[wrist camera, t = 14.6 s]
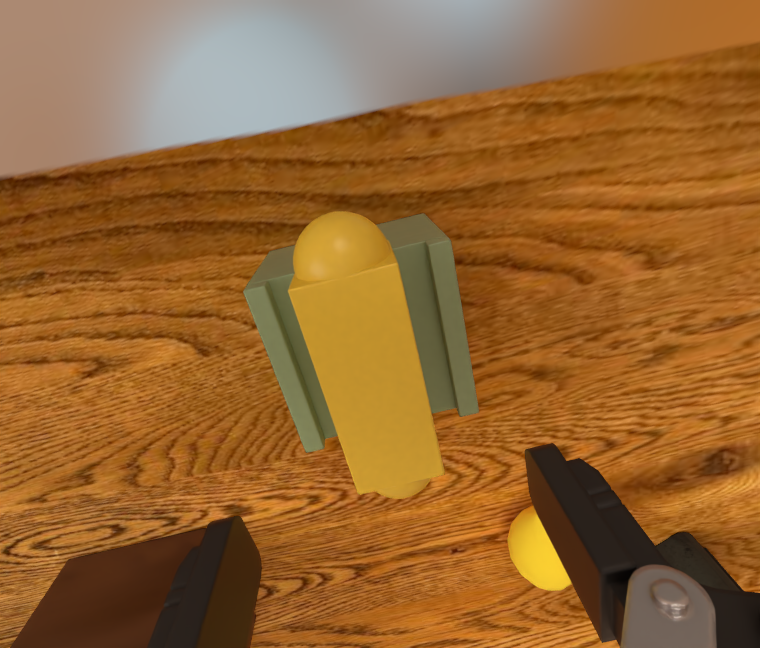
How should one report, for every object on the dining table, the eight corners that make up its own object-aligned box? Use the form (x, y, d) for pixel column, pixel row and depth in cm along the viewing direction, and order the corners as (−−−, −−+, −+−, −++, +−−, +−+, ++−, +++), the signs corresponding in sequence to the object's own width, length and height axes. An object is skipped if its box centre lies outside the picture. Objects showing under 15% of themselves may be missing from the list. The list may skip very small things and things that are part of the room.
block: (269, 251, 24) (242, 290, 18) (423, 212, 24) (450, 239, 18) (315, 382, 28) (305, 453, 22) (449, 350, 27) (479, 413, 21)
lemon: (565, 538, 35) (600, 603, 30) (502, 552, 36) (527, 618, 31) (562, 476, 33) (601, 536, 28) (493, 491, 33) (519, 554, 28)
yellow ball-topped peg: (284, 217, 18) (268, 237, 14) (378, 193, 17) (386, 208, 14) (365, 467, 23) (368, 525, 20) (436, 450, 23) (452, 505, 20)
